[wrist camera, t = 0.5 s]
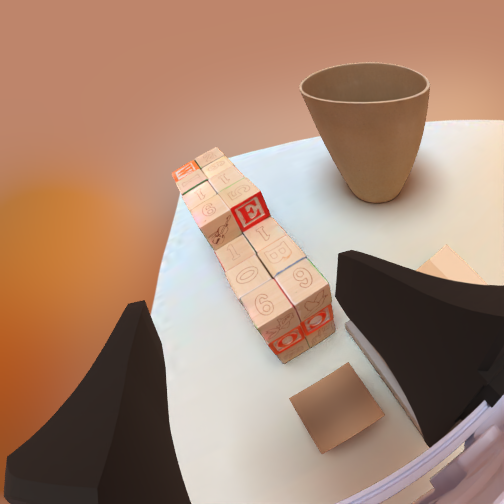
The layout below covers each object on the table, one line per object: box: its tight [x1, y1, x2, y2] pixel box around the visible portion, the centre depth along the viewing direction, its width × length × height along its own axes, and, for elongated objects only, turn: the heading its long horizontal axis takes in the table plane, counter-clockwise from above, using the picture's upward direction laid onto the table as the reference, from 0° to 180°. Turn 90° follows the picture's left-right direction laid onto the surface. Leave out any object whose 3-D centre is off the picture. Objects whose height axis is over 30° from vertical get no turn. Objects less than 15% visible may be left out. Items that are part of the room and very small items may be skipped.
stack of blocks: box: [172, 147, 335, 364], centre depth 29 cm, size 21×6×12 cm, turn 26°
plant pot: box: [299, 62, 430, 203], centre depth 31 cm, size 15×15×16 cm
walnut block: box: [289, 362, 384, 454], centre depth 19 cm, size 5×5×6 cm
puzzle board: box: [345, 244, 488, 436], centre depth 21 cm, size 14×14×3 cm
